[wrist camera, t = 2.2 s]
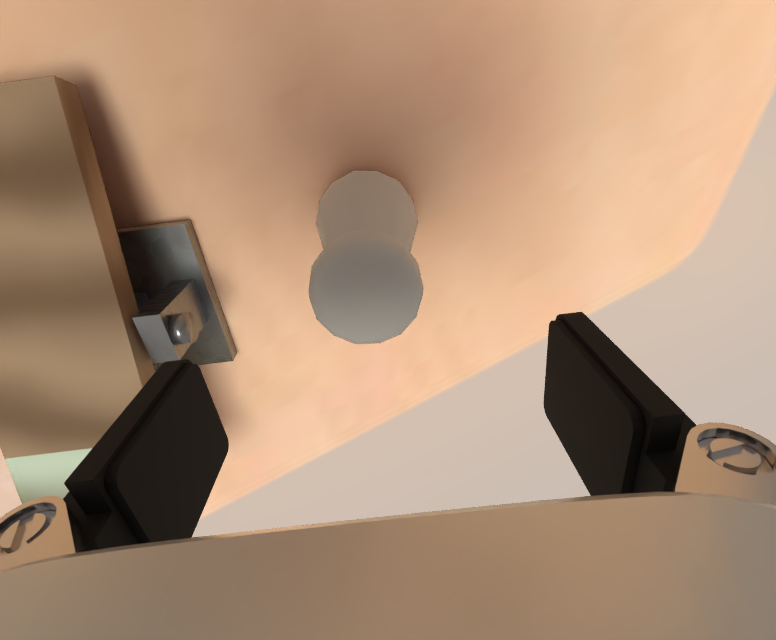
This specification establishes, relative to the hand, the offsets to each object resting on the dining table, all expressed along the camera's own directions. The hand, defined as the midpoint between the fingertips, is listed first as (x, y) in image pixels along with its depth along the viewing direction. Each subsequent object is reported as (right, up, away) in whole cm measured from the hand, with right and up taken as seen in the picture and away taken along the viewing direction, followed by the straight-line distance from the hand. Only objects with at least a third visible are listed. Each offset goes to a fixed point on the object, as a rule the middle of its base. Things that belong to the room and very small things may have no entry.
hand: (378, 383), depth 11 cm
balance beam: (-18, 0, +13) cm, 22 cm away
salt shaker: (-1, +9, +15) cm, 17 cm away
